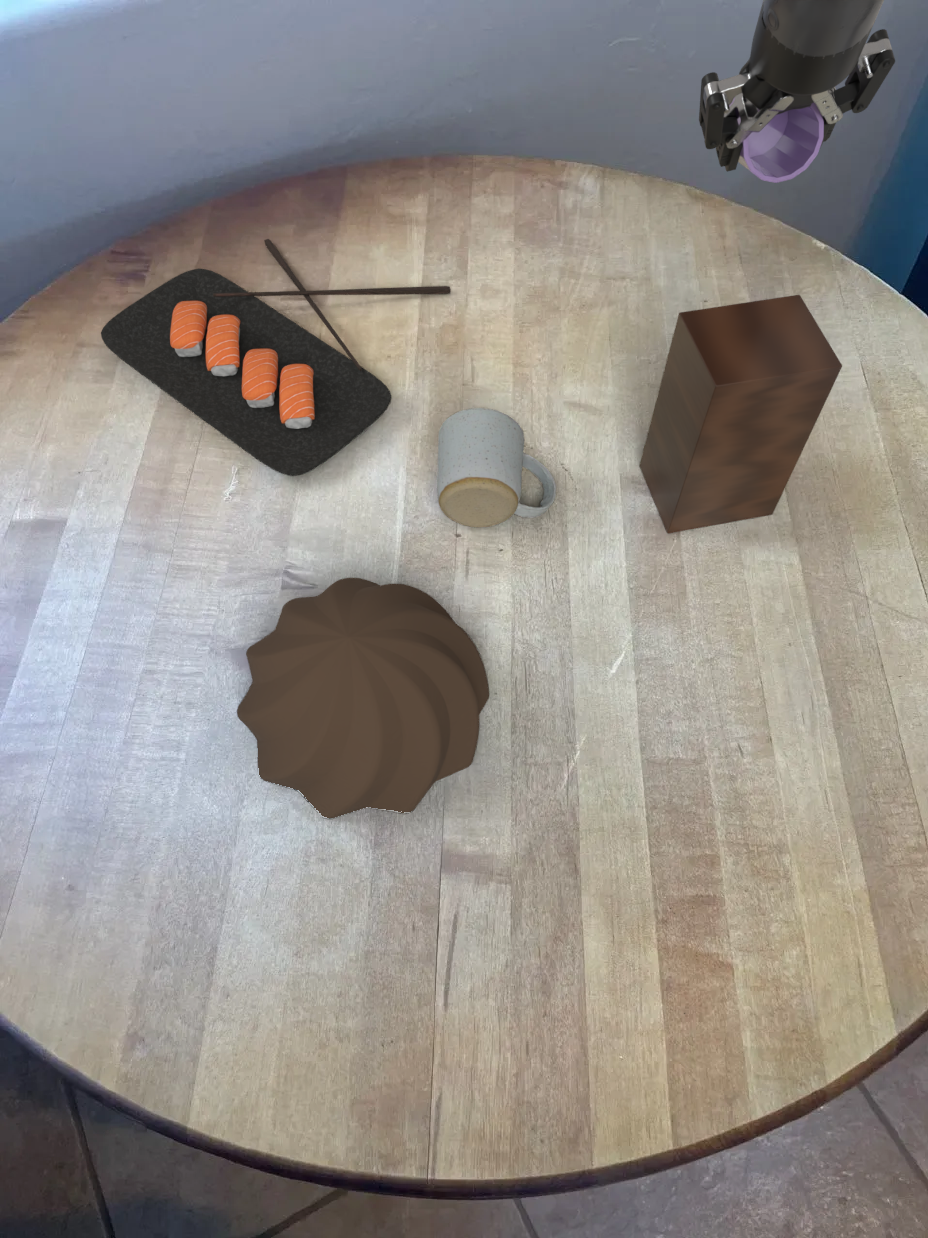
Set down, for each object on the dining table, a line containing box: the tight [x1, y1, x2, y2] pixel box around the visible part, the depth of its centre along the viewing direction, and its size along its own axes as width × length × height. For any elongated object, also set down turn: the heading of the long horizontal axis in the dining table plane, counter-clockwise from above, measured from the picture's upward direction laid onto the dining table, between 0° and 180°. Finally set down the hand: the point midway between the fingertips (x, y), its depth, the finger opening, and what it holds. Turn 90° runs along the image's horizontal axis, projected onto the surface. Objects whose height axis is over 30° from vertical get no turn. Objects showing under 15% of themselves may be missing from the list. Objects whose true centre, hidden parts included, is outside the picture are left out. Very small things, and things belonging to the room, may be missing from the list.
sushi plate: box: [100, 238, 451, 477], centre depth 96 cm, size 29×30×4 cm
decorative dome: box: [236, 577, 490, 819], centre depth 72 cm, size 19×20×10 cm
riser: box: [638, 294, 843, 534], centre depth 80 cm, size 10×8×18 cm
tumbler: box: [729, 98, 824, 184], centre depth 80 cm, size 6×6×8 cm
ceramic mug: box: [436, 407, 557, 528], centre depth 84 cm, size 11×8×8 cm
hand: (769, 150), depth 80 cm, fingers closed on tumbler, 6 cm apart
